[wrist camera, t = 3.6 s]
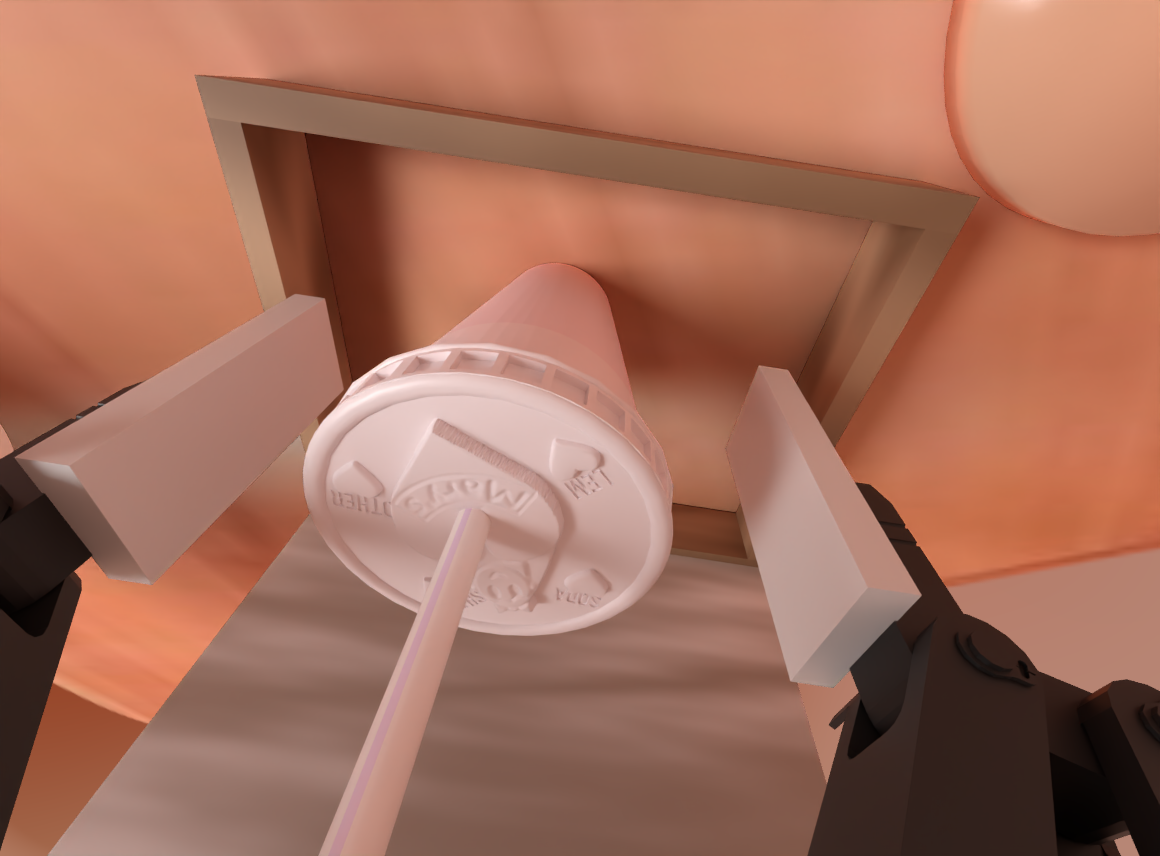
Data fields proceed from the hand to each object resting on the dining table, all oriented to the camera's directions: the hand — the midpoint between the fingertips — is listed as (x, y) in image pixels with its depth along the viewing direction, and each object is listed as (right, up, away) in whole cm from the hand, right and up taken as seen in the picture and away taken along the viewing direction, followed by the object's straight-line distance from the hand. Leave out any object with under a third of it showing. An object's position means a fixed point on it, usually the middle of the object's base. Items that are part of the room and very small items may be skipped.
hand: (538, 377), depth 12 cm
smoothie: (0, +3, +3) cm, 4 cm away
